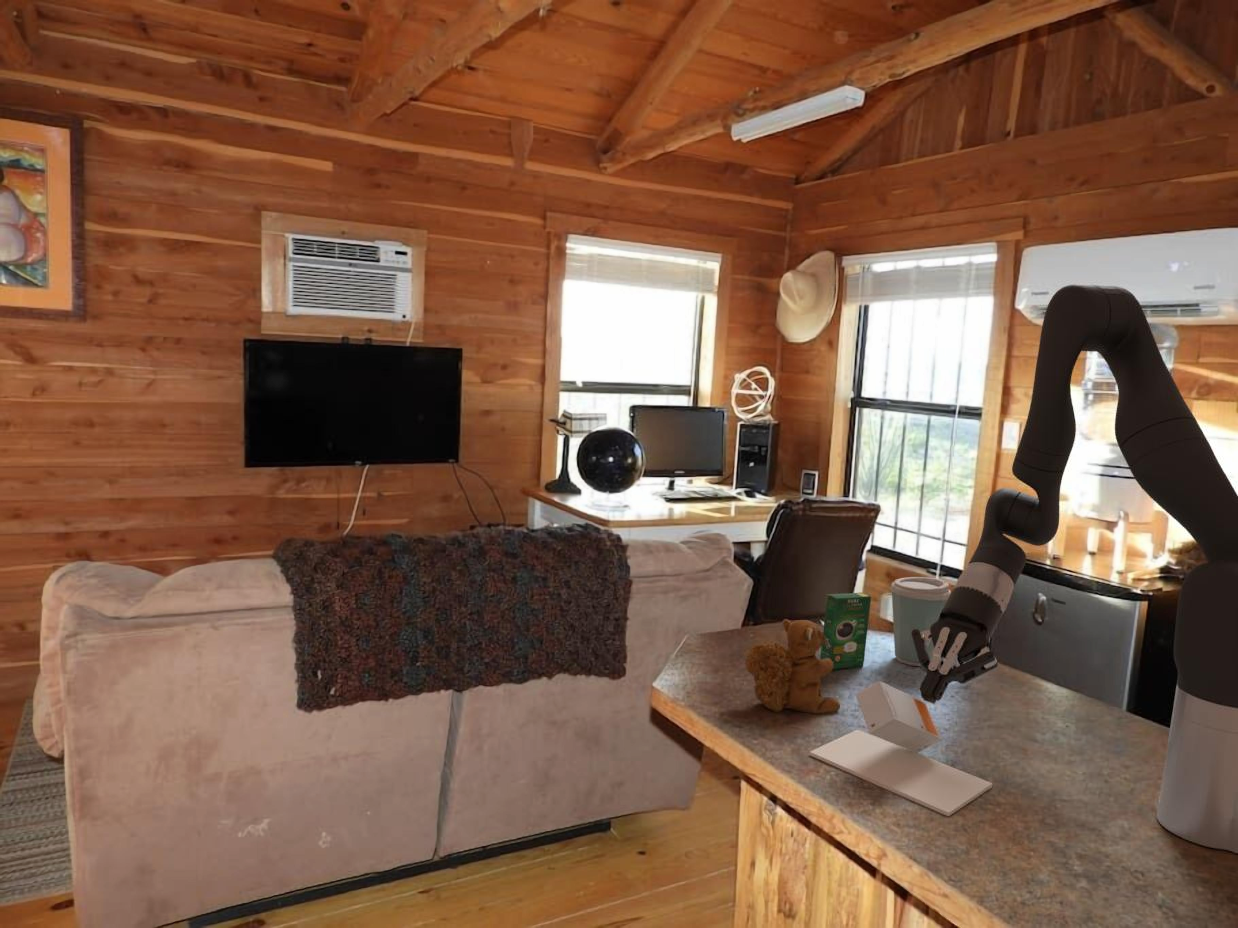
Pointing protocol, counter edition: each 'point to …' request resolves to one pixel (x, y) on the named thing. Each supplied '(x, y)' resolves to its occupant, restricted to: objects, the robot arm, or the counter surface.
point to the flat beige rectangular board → (902, 771)
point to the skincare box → (897, 717)
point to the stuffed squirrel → (792, 670)
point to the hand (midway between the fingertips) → (927, 699)
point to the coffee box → (846, 629)
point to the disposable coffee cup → (915, 612)
